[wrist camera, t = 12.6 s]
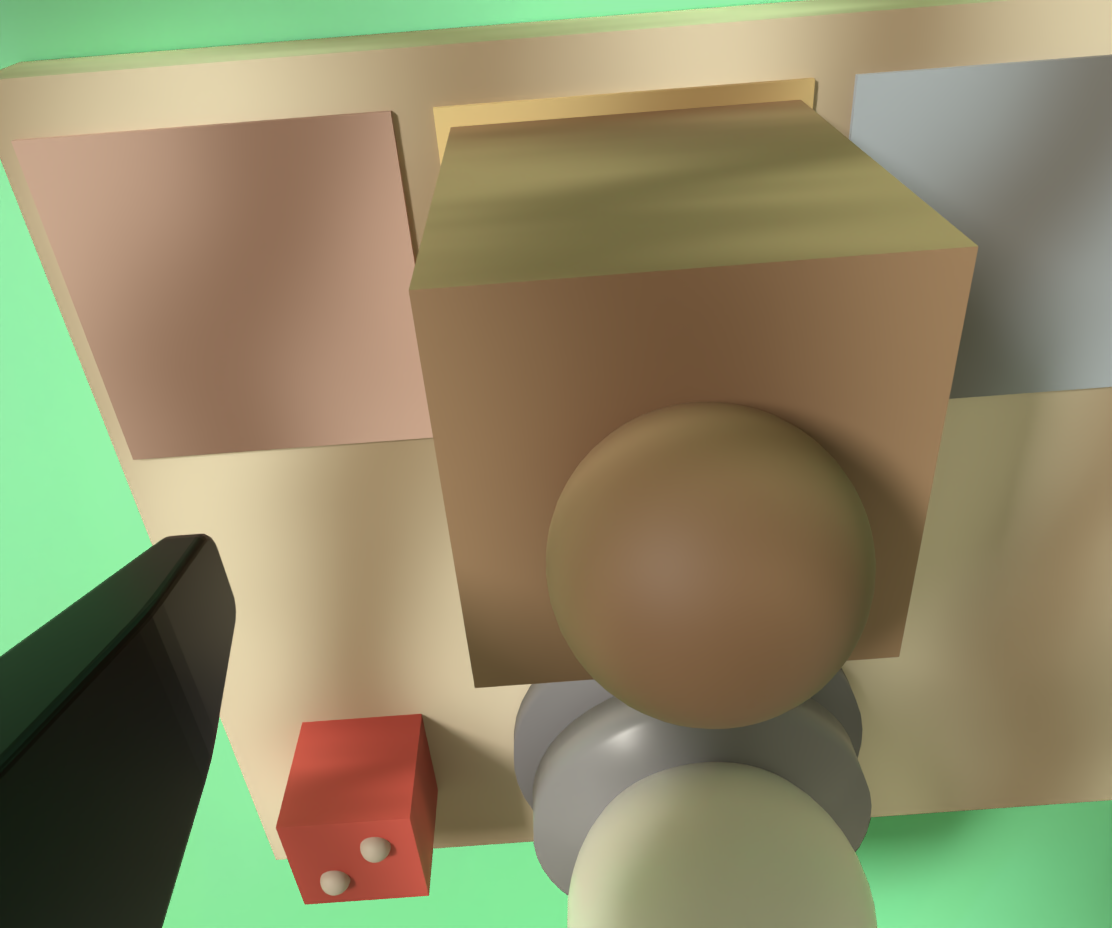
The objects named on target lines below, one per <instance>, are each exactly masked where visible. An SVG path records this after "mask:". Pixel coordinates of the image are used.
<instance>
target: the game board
mask: <svg viewBox="0 0 1112 928" xmlns="http://www.w3.org/2000/svg"><path fill="white" fill-rule="evenodd" d="M789 100H802V101H803V102H804V103H806V104H807V105H808V106H809V107H810V108H812V109H813V110H814V111H815V112H816V113H818V114H819V115H820V116H821V117H823V118H824V119H825V120H826V121H827V122H829V123H830V124H831V125H832V126H833V127H835V128H836V129H837V130H838V131H839V132H841V133H842V134H843V135H844V136H846V137H847V138H848V139H849V140H850V141H852V142H853V143H854V144H855V145H856V146H858V147H859V148H860V149H861V150H862V151H864V152H865V153H866V154H867V155H869V156H870V157H871V158H872V159H873V160H875V161H876V162H877V163H878V164H879V165H881V166H882V167H883V168H884V169H886V170H887V171H888V172H889V173H890V174H892V175H893V176H894V177H895V178H896V179H898V180H899V181H900V182H901V183H902V184H904V185H905V186H906V187H907V188H909V189H910V190H911V191H912V192H913V193H915V194H916V195H917V196H918V197H919V198H921V199H922V200H923V201H924V202H925V203H927V204H928V205H929V206H930V207H932V208H933V209H934V210H935V211H936V212H938V213H939V214H940V215H941V216H942V217H944V218H945V219H946V220H947V221H948V222H950V223H951V224H952V225H953V226H955V227H956V228H957V229H958V230H959V231H961V232H962V233H963V234H964V235H965V236H967V237H968V238H969V239H970V240H971V241H973V242H974V243H975V244H976V245H978V251H977V257H976V262H975V267H974V272H973V277H972V283H971V288H970V293H969V298H968V303H967V308H966V314H965V319H964V324H963V329H962V334H961V339H960V345H959V350H958V355H957V360H956V365H955V371H954V376H953V381H952V386H951V391H950V396H949V402H948V407H947V412H946V417H945V422H944V428H943V433H942V438H941V443H940V448H939V453H938V459H937V464H936V469H935V474H934V479H933V484H932V490H931V495H930V500H929V505H928V510H927V516H926V521H925V526H924V531H923V536H922V541H921V547H920V552H919V557H918V562H917V567H916V572H915V578H914V583H913V588H912V593H911V598H910V604H909V609H908V614H907V619H906V624H905V629H904V635H903V640H902V645H901V650H900V655H899V657H892V658H878V659H865V660H851V661H846V662H845V664H844V665H843V666H842V667H841V669H840V670H839V671H838V672H837V673H836V675H835V676H834V677H833V678H832V679H831V680H830V681H829V682H828V683H827V684H826V685H825V686H824V687H823V688H822V689H821V690H820V691H819V692H817V693H816V694H815V695H813V696H812V697H811V699H813V700H814V701H816V702H818V703H819V704H820V705H822V706H823V707H824V708H825V709H827V710H828V711H829V712H830V713H832V714H833V716H834V717H835V718H836V719H837V720H838V721H839V722H840V723H841V724H842V726H843V728H844V729H845V731H846V732H847V734H848V736H849V737H850V740H851V743H852V745H853V748H854V750H855V753H856V756H857V758H858V761H859V764H860V766H861V769H862V772H863V774H864V777H865V779H866V782H867V785H868V788H869V791H870V796H871V804H872V808H871V817H881V816H895V815H909V814H923V813H937V812H951V811H965V810H979V809H993V808H1007V807H1021V806H1035V805H1049V804H1063V803H1077V802H1091V801H1105V800H1112V0H806V1H794V2H781V3H768V4H755V5H742V6H730V7H717V8H704V9H691V10H679V11H666V12H653V13H640V14H627V15H615V16H602V17H589V18H576V19H563V20H551V21H538V22H525V23H512V24H500V25H487V26H474V27H461V28H448V29H436V30H423V31H410V32H397V33H385V34H372V35H359V36H346V37H333V38H321V39H308V40H295V41H282V42H270V43H257V44H244V45H231V46H218V47H206V48H193V49H180V50H167V51H155V52H142V53H129V54H116V55H103V56H91V57H78V58H65V59H52V60H40V61H27V62H19V63H16V64H13V65H11V66H8V67H6V68H3V69H1V70H0V159H1V162H2V164H3V167H4V169H5V172H6V174H7V177H8V180H9V182H10V185H11V187H12V190H13V192H14V195H15V197H16V200H17V202H18V205H19V207H20V210H21V213H22V215H23V218H24V220H25V223H26V225H27V228H28V230H29V233H30V235H31V238H32V240H33V243H34V246H35V248H36V251H37V253H38V256H39V258H40V261H41V263H42V266H43V268H44V271H45V274H46V276H47V279H48V281H49V284H50V286H51V289H52V291H53V294H54V296H55V299H56V301H57V304H58V307H59V309H60V312H61V314H62V317H63V319H64V322H65V324H66V327H67V329H68V332H69V334H70V337H71V340H72V342H73V345H74V347H75V350H76V352H77V355H78V357H79V360H80V362H81V365H82V368H83V370H84V373H85V375H86V378H87V380H88V383H89V385H90V388H91V390H92V393H93V395H94V398H95V401H96V403H97V406H98V408H99V411H100V413H101V416H102V418H103V421H104V423H105V426H106V428H107V431H108V434H109V436H110V439H111V441H112V444H113V446H114V449H115V451H116V454H117V456H118V459H119V462H120V464H121V467H122V469H123V472H124V474H125V477H126V479H127V482H128V484H129V487H130V489H131V492H132V495H133V497H134V500H135V502H136V505H137V507H138V510H139V512H140V515H141V517H142V520H143V522H144V525H145V528H146V530H147V533H148V535H149V538H150V540H151V543H152V545H154V544H156V543H157V542H159V541H160V540H162V539H163V538H165V537H168V536H175V535H189V534H206V535H208V536H210V537H211V538H212V539H213V540H214V542H215V544H216V546H217V548H218V551H219V554H220V557H221V560H222V563H223V566H224V569H225V572H226V574H227V577H228V580H229V583H230V586H231V589H232V592H233V595H234V599H235V604H236V622H235V628H234V634H233V640H232V646H231V651H230V657H229V663H228V669H227V675H226V681H225V687H224V692H223V698H222V704H221V710H220V718H221V721H222V723H223V726H224V728H225V731H226V733H227V736H228V738H229V741H230V744H231V746H232V749H233V751H234V754H235V756H236V759H237V761H238V764H239V766H240V769H241V771H242V774H243V777H244V779H245V782H246V784H247V787H248V789H249V792H250V794H251V797H252V799H253V802H254V804H255V807H256V810H257V812H258V815H259V817H260V820H261V822H262V825H263V827H264V830H265V832H266V835H267V838H268V840H269V843H270V845H271V848H272V850H273V853H274V855H275V858H276V860H278V859H288V862H289V864H290V867H291V869H292V872H293V875H294V877H295V880H296V883H297V885H298V888H299V890H300V893H301V896H302V898H303V901H304V903H305V904H318V903H332V902H346V901H360V900H374V899H388V898H402V897H416V896H429V889H430V877H431V866H432V854H433V848H446V847H460V846H474V845H488V844H502V843H516V842H530V841H534V832H533V784H534V778H535V773H536V771H537V768H538V766H539V763H540V760H541V759H542V757H543V755H544V754H545V752H546V750H547V749H548V747H549V746H550V744H551V743H552V742H553V741H554V740H555V738H556V737H557V736H558V735H559V734H560V732H562V731H563V730H564V729H565V728H566V727H567V726H568V725H569V724H570V723H572V722H573V721H574V720H575V719H577V718H578V717H579V716H581V715H582V714H584V713H585V712H586V711H588V710H589V709H591V708H593V707H595V706H596V705H598V704H600V703H602V702H604V701H606V700H607V699H609V698H612V697H614V696H613V695H612V694H610V693H609V692H608V691H606V690H605V689H604V688H603V687H602V686H601V685H600V684H599V683H597V682H596V681H595V680H594V679H593V680H580V681H566V682H552V683H539V684H525V685H512V686H498V687H485V688H475V686H474V680H473V674H472V668H471V662H470V656H469V650H468V644H467V638H466V632H465V626H464V620H463V614H462V608H461V602H460V596H459V590H458V584H457V578H456V572H455V566H454V560H453V554H452V548H451V542H450V536H449V530H448V524H447V518H446V512H445V506H444V500H443V494H442V488H441V482H440V476H439V470H438V464H437V458H436V452H435V446H434V440H433V434H432V428H431V422H430V416H429V410H428V404H427V398H426V392H425V386H424V380H423V374H422V368H421V362H420V356H419V350H418V344H417V338H416V332H415V326H414V320H413V314H412V308H411V302H410V296H409V287H410V283H411V279H412V275H413V271H414V267H415V263H416V260H417V256H418V252H419V248H420V244H421V240H422V236H423V233H424V229H425V225H426V221H427V217H428V213H429V209H430V206H431V202H432V198H433V194H434V190H435V186H436V182H437V179H438V175H439V171H440V167H441V163H442V159H443V155H444V152H445V148H446V144H447V140H448V136H449V132H450V128H451V127H459V126H472V125H485V124H497V123H510V122H523V121H535V120H548V119H561V118H573V117H586V116H599V115H611V114H624V113H637V112H649V111H662V110H675V109H687V108H700V107H713V106H726V105H738V104H751V103H764V102H776V101H789Z"/></svg>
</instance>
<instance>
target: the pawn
mask: <svg viewBox="0 0 1112 928" xmlns="http://www.w3.org/2000/svg"><path fill="white" fill-rule="evenodd" d="M977 251H978V245H976V244H975V243H974V242H973V241H971V240H970V239H969V238H968V237H967V236H965V235H964V234H963V233H962V232H961V231H959V230H958V229H957V228H956V227H955V226H953V225H952V224H951V223H950V222H948V221H947V220H946V219H945V218H944V217H942V216H941V215H940V214H939V213H938V212H936V211H935V210H934V209H933V208H932V207H930V206H929V205H928V204H927V203H925V202H924V201H923V200H922V199H921V198H919V197H918V196H917V195H916V194H915V193H913V192H912V191H911V190H910V189H909V188H907V187H906V186H905V185H904V184H902V183H901V182H900V181H899V180H898V179H896V178H895V177H894V176H893V175H892V174H890V173H889V172H888V171H887V170H886V169H884V168H883V167H882V166H881V165H879V164H878V163H877V162H876V161H875V160H873V159H872V158H871V157H870V156H869V155H867V154H866V153H865V152H864V151H862V150H861V149H860V148H859V147H858V146H856V145H855V144H854V143H853V142H852V141H850V140H849V139H848V138H847V137H846V136H844V135H843V134H842V133H841V132H839V131H838V130H837V129H836V128H835V127H833V126H832V125H831V124H830V123H829V122H827V121H826V120H825V119H824V118H823V117H821V116H820V115H819V114H818V113H816V112H815V111H814V110H813V109H812V108H810V107H809V106H808V105H807V104H806V103H804V102H803V101H802V100H789V101H776V102H764V103H751V104H738V105H726V106H713V107H700V108H687V109H675V110H662V111H649V112H637V113H624V114H611V115H599V116H586V117H573V118H561V119H548V120H535V121H523V122H510V123H497V124H485V125H472V126H459V127H451V128H450V132H449V136H448V140H447V144H446V148H445V152H444V155H443V159H442V163H441V167H440V171H439V175H438V179H437V182H436V186H435V190H434V194H433V198H432V202H431V206H430V209H429V213H428V217H427V221H426V225H425V229H424V233H423V236H422V240H421V244H420V248H419V252H418V256H417V260H416V263H415V267H414V271H413V275H412V279H411V283H410V287H409V296H410V302H411V308H412V314H413V320H414V326H415V332H416V338H417V344H418V350H419V356H420V362H421V368H422V374H423V380H424V386H425V392H426V398H427V404H428V410H429V416H430V422H431V428H432V434H433V440H434V446H435V452H436V458H437V464H438V470H439V476H440V482H441V488H442V494H443V500H444V506H445V512H446V518H447V524H448V530H449V536H450V542H451V548H452V554H453V560H454V566H455V572H456V578H457V584H458V590H459V596H460V602H461V608H462V614H463V620H464V626H465V632H466V638H467V644H468V650H469V656H470V662H471V668H472V674H473V680H474V686H475V688H485V687H498V686H512V685H525V684H539V683H552V682H566V681H580V680H593V679H594V680H595V681H596V682H597V683H599V684H600V685H601V686H602V687H603V688H604V689H605V690H606V691H608V692H609V693H610V694H612V695H613V696H615V697H616V698H617V699H619V700H620V701H622V702H623V703H625V704H626V705H627V706H629V707H631V708H633V709H635V710H637V711H639V712H641V713H643V714H645V715H648V716H650V717H653V718H655V719H658V720H661V721H663V722H666V723H670V724H674V725H678V726H684V727H690V728H702V729H729V728H738V727H744V726H748V725H753V724H757V723H760V722H764V721H767V720H769V719H772V718H775V717H777V716H780V715H782V714H784V713H785V712H787V711H789V710H791V709H793V708H795V707H797V706H799V705H800V704H802V703H803V702H805V701H806V700H808V699H810V698H811V697H812V696H813V695H815V694H816V693H817V692H819V691H820V690H821V689H822V688H823V687H824V686H825V685H826V684H827V683H828V682H829V681H830V680H831V679H832V678H833V677H834V676H835V675H836V673H837V672H838V671H839V670H840V669H841V667H842V666H843V665H844V664H845V662H846V661H851V660H865V659H878V658H892V657H899V655H900V650H901V645H902V640H903V635H904V629H905V624H906V619H907V614H908V609H909V604H910V598H911V593H912V588H913V583H914V578H915V572H916V567H917V562H918V557H919V552H920V547H921V541H922V536H923V531H924V526H925V521H926V516H927V510H928V505H929V500H930V495H931V490H932V484H933V479H934V474H935V469H936V464H937V459H938V453H939V448H940V443H941V438H942V433H943V428H944V422H945V417H946V412H947V407H948V402H949V396H950V391H951V386H952V381H953V376H954V371H955V365H956V360H957V355H958V350H959V345H960V339H961V334H962V329H963V324H964V319H965V314H966V308H967V303H968V298H969V293H970V288H971V283H972V277H973V272H974V267H975V262H976V257H977Z"/></svg>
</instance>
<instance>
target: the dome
mask: <svg viewBox="0 0 1112 928" xmlns="http://www.w3.org/2000/svg"><path fill="white" fill-rule="evenodd" d="M871 808H872V804H871V796H870V791H869V788H868V785H867V782H866V779H865V777H864V774H863V772H862V769H861V766H860V764H859V761H858V758H857V756H856V753H855V750H854V748H853V745H852V743H851V740H850V737H849V736H848V734H847V732H846V731H845V729H844V728H843V726H842V724H841V723H840V722H839V721H838V720H837V719H836V718H835V717H834V716H833V714H832V713H830V712H829V711H828V710H827V709H825V708H824V707H823V706H822V705H820V704H819V703H818V702H816V701H814V700H813V699H811V698H810V699H808V700H806V701H805V702H803V703H802V704H800V705H799V706H797V707H795V708H793V709H791V710H789V711H787V712H785V713H784V714H782V715H780V716H777V717H775V718H772V719H769V720H767V721H764V722H760V723H757V724H753V725H748V726H744V727H738V728H729V729H702V728H690V727H684V726H678V725H674V724H670V723H666V722H663V721H661V720H658V719H655V718H653V717H650V716H648V715H645V714H643V713H641V712H639V711H637V710H635V709H633V708H631V707H629V706H627V705H626V704H625V703H623V702H622V701H620V700H619V699H617V698H616V697H615V696H614V697H612V698H609V699H607V700H606V701H604V702H602V703H600V704H598V705H596V706H595V707H593V708H591V709H589V710H588V711H586V712H585V713H584V714H582V715H581V716H579V717H578V718H577V719H575V720H574V721H573V722H572V723H570V724H569V725H568V726H567V727H566V728H565V729H564V730H563V731H562V732H560V734H559V735H558V736H557V737H556V738H555V740H554V741H553V742H552V743H551V744H550V746H549V747H548V749H547V750H546V752H545V754H544V755H543V757H542V759H541V760H540V763H539V766H538V768H537V771H536V773H535V778H534V784H533V832H534V847H535V851H536V855H537V858H538V860H539V862H540V864H541V866H542V868H543V870H544V871H545V873H546V874H547V875H548V877H549V878H550V880H551V881H552V882H553V883H554V884H555V885H556V886H557V887H558V888H559V889H560V890H561V891H563V892H564V893H566V894H567V895H568V918H567V928H877V921H876V913H875V906H874V901H873V898H872V894H871V890H870V886H869V883H868V881H867V878H866V876H865V873H864V871H863V868H862V866H861V864H860V861H859V859H858V856H857V855H856V853H855V852H856V851H857V849H858V848H859V846H860V845H861V843H862V841H863V839H864V837H865V835H866V833H867V829H868V826H869V823H870V819H871Z"/></svg>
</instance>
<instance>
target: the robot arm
mask: <svg viewBox="0 0 1112 928" xmlns="http://www.w3.org/2000/svg"><path fill="white" fill-rule="evenodd" d="M235 622H236V604H235V599H234V595H233V592H232V589H231V586H230V583H229V580H228V577H227V574H226V572H225V569H224V566H223V563H222V560H221V557H220V554H219V551H218V548H217V546H216V544H215V542H214V540H213V539H212V538H211V537H210V536H208V535H206V534H189V535H175V536H168V537H165V538H163V539H162V540H160V541H159V542H157V543H156V544H154V545H153V546H152V547H150V548H149V549H148V550H146V551H145V552H143V553H142V554H141V555H139V556H138V557H137V558H135V559H134V560H132V561H131V562H130V563H128V564H127V565H126V566H124V567H123V568H121V569H120V570H119V571H117V572H116V573H115V574H113V575H112V576H110V577H109V578H108V579H106V580H105V581H104V582H102V583H101V584H99V585H98V586H97V587H95V588H94V589H93V590H91V591H90V592H88V593H87V594H86V595H84V596H83V597H82V598H80V599H79V600H77V601H76V602H75V603H73V604H72V605H71V606H69V607H68V608H66V609H65V610H64V611H62V612H61V613H60V614H58V615H57V616H55V617H54V618H53V619H51V620H50V621H49V622H47V623H46V624H44V625H43V626H42V627H40V628H39V629H38V630H36V631H35V632H33V633H32V634H31V635H29V636H28V637H27V638H25V639H24V640H22V641H21V642H20V643H18V644H17V645H16V646H14V647H13V648H11V649H10V650H9V651H7V652H6V653H4V654H3V655H2V656H0V928H162V926H163V923H164V920H165V916H166V913H167V910H168V906H169V903H170V899H171V896H172V893H173V889H174V886H175V883H176V879H177V876H178V872H179V869H180V866H181V862H182V859H183V856H184V852H185V849H186V845H187V842H188V839H189V835H190V832H191V829H192V825H193V822H194V819H195V815H196V812H197V808H198V805H199V802H200V798H201V795H202V792H203V788H204V785H205V781H206V778H207V774H208V770H209V766H210V763H211V759H212V754H213V749H214V744H215V739H216V733H217V728H218V722H219V716H220V710H221V704H222V698H223V692H224V687H225V681H226V675H227V669H228V663H229V657H230V651H231V646H232V640H233V634H234V628H235Z"/></svg>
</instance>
